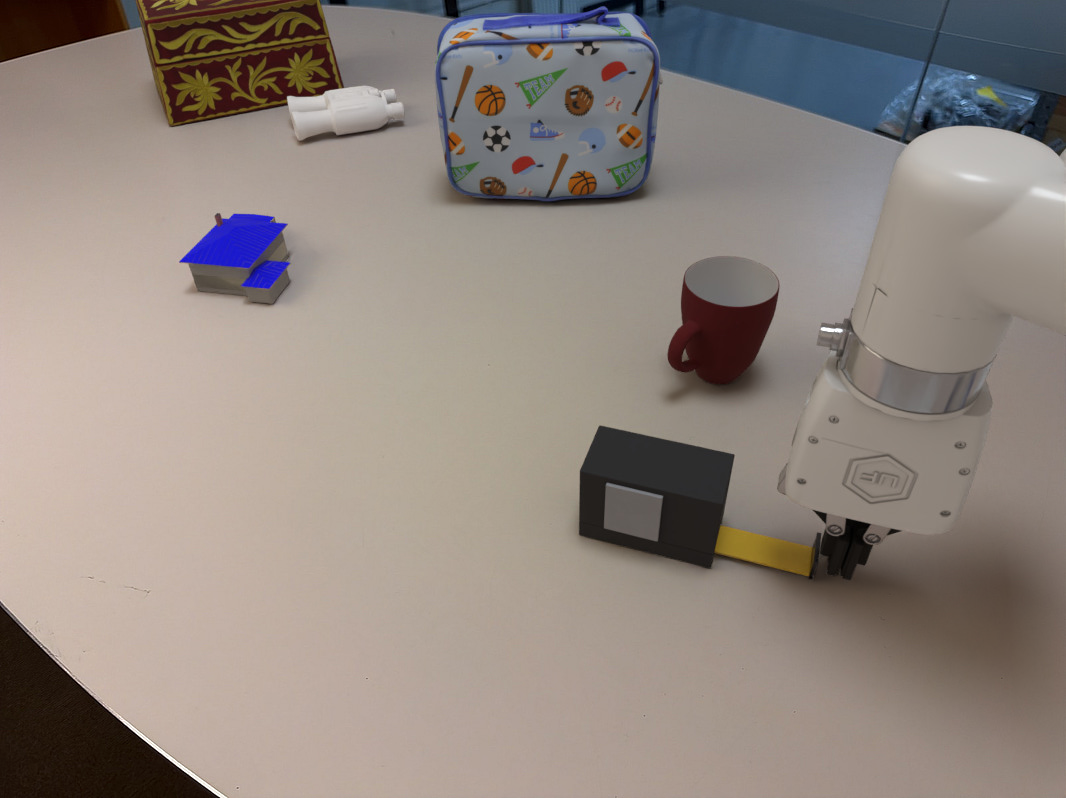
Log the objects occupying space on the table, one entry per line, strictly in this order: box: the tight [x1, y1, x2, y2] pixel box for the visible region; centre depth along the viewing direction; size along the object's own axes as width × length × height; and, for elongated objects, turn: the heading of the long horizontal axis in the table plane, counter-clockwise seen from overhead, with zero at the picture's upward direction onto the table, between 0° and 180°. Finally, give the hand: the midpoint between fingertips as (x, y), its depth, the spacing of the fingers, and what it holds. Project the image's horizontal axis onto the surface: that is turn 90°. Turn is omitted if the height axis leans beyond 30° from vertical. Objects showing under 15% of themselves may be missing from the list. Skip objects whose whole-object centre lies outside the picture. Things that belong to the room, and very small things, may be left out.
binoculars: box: [287, 85, 405, 142], centre depth 120 cm, size 10×16×5 cm, turn 109°
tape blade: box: [714, 524, 822, 581], centre depth 59 cm, size 10×3×2 cm, turn 70°
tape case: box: [578, 425, 736, 569], centre depth 59 cm, size 10×6×7 cm, turn 70°
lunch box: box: [434, 5, 664, 202], centre depth 97 cm, size 28×10×22 cm, turn 92°
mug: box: [667, 255, 781, 386], centre depth 71 cm, size 10×8×10 cm
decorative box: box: [134, 0, 345, 127], centre depth 129 cm, size 28×19×15 cm
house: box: [178, 212, 291, 305], centre depth 90 cm, size 11×14×6 cm
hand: (839, 561), depth 57 cm, fingers closed
